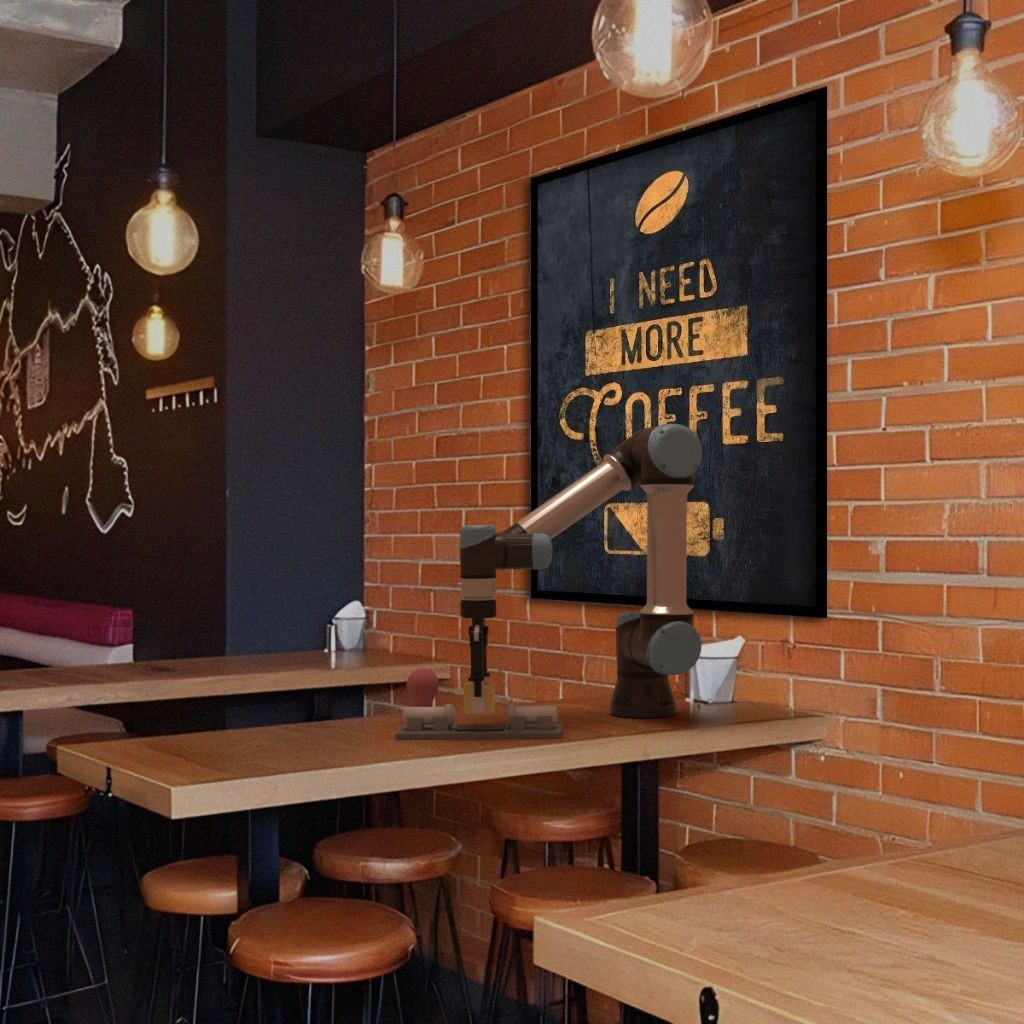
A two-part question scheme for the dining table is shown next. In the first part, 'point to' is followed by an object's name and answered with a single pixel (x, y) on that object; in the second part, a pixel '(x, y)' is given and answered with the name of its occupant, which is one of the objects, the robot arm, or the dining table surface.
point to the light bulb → (422, 687)
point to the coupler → (488, 698)
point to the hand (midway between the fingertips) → (479, 710)
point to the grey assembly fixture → (512, 729)
